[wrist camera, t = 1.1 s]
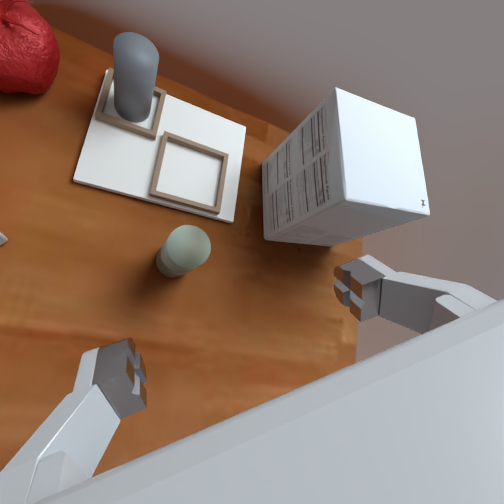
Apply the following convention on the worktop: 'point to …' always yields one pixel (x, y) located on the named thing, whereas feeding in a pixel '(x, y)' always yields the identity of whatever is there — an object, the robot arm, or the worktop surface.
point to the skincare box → (2, 239)
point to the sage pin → (183, 251)
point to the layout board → (159, 140)
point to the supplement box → (344, 174)
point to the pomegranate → (26, 49)
